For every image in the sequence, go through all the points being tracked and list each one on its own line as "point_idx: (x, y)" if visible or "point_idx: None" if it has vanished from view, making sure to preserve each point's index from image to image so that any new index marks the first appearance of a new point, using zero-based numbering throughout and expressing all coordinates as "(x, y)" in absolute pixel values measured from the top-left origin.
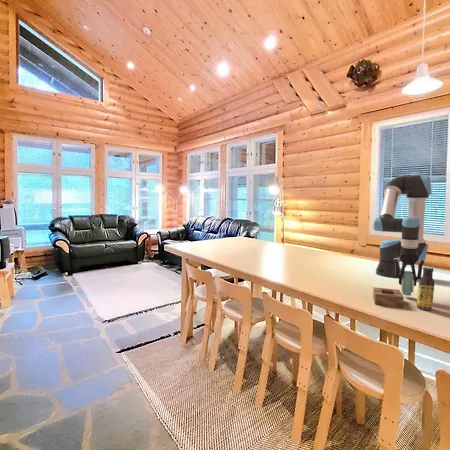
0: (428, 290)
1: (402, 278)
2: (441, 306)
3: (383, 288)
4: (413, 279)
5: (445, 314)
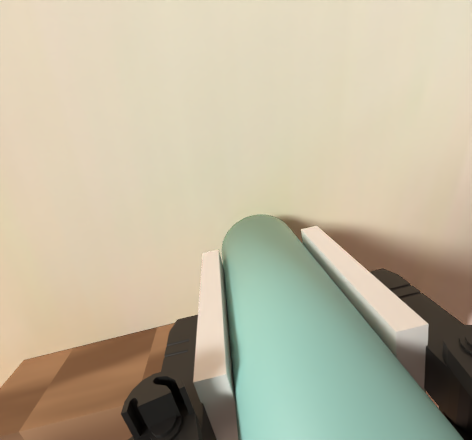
0: None
1: (222, 403)
2: (457, 300)
3: (52, 431)
4: (426, 368)
5: (438, 408)
